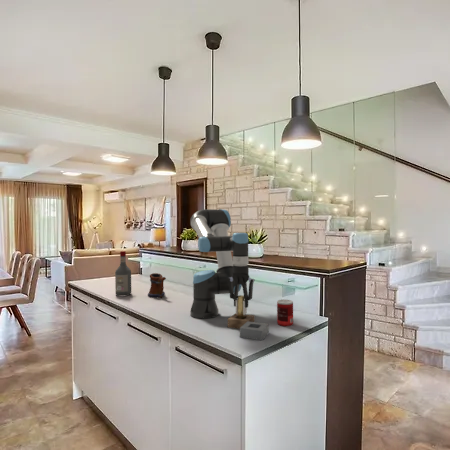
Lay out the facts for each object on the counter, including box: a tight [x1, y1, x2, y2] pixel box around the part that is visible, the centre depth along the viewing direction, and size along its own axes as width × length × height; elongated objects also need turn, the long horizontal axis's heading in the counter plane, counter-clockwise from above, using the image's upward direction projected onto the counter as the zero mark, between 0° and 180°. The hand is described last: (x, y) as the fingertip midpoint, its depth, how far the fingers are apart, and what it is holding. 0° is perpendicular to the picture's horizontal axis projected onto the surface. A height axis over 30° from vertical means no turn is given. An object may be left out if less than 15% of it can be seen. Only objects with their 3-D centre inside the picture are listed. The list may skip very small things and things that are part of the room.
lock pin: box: [238, 294, 245, 319], centre depth 156 cm, size 3×3×14 cm
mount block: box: [227, 312, 256, 330], centre depth 156 cm, size 10×10×4 cm
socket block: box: [239, 321, 270, 341], centre depth 143 cm, size 10×10×4 cm
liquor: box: [114, 250, 132, 296], centre depth 226 cm, size 9×9×30 cm
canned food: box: [276, 299, 294, 327], centre depth 158 cm, size 8×8×11 cm
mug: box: [147, 272, 167, 299], centre depth 218 cm, size 18×12×15 cm, turn 37°
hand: (241, 313), depth 156 cm, fingers closed on lock pin, 3 cm apart
